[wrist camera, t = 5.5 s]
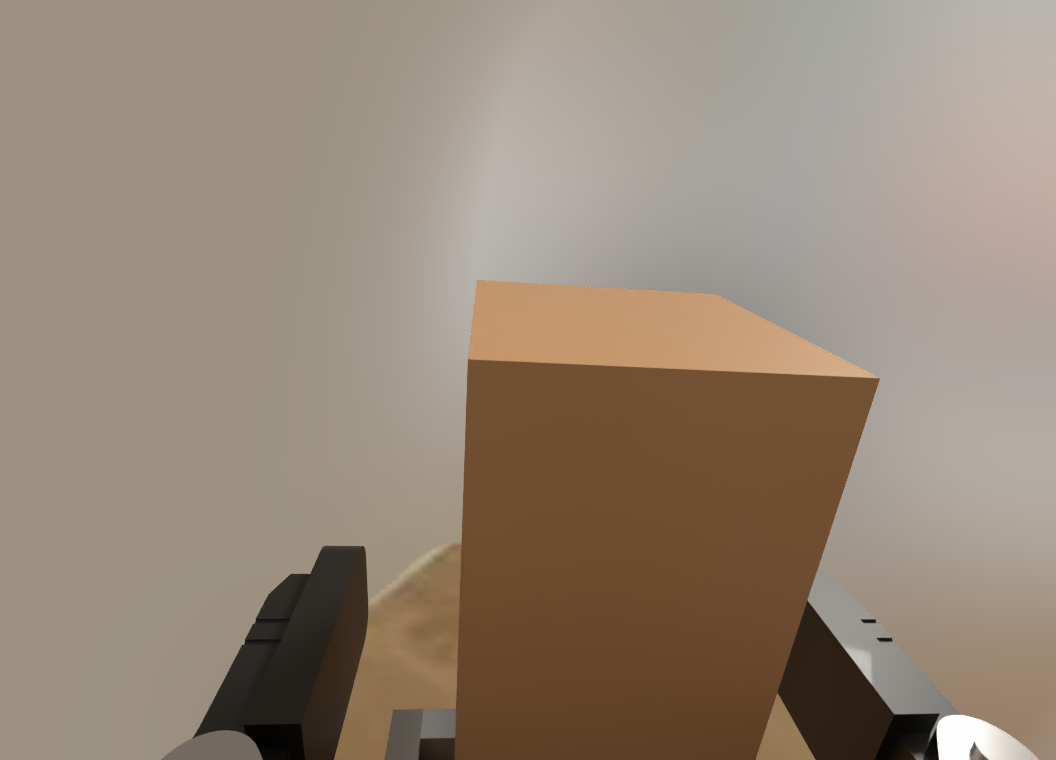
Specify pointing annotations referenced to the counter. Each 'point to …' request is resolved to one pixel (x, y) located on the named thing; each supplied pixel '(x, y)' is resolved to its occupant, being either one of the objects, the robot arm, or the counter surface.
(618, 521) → the plug
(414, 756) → the square socket base
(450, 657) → the counter surface
